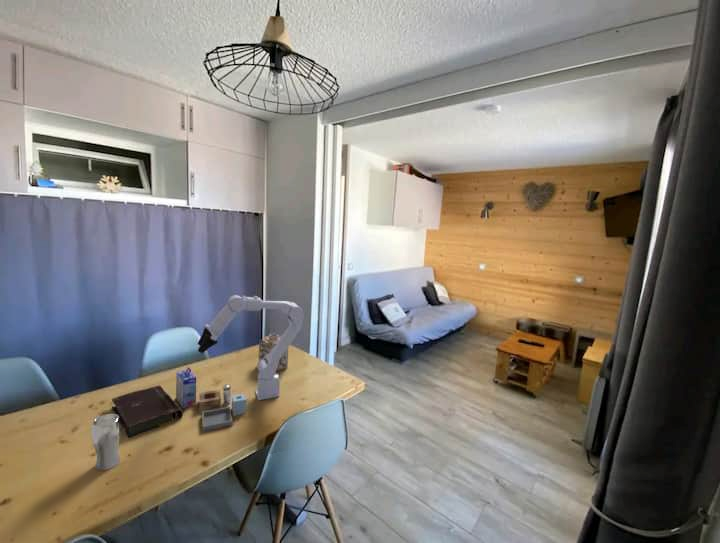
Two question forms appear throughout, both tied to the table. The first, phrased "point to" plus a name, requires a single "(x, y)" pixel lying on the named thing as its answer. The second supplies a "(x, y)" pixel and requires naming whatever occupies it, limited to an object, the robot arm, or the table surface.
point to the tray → (216, 419)
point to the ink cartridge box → (186, 388)
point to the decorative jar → (266, 348)
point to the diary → (145, 410)
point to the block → (238, 404)
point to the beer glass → (106, 441)
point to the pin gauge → (226, 394)
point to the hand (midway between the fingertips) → (199, 348)
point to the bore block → (209, 400)
